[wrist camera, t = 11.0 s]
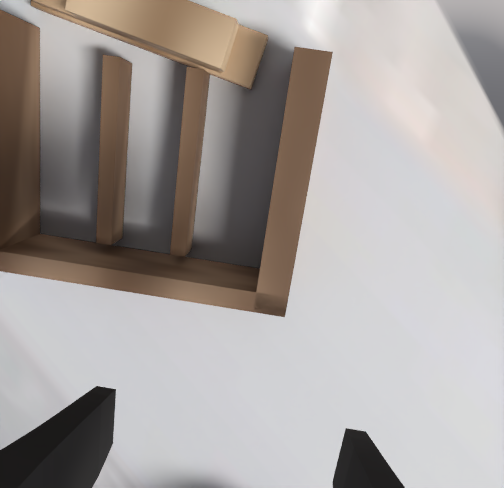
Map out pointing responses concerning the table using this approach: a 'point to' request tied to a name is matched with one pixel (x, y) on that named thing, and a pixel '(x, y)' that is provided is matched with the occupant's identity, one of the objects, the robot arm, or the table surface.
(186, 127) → the rack
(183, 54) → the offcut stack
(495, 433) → the table surface
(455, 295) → the table surface
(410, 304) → the table surface
